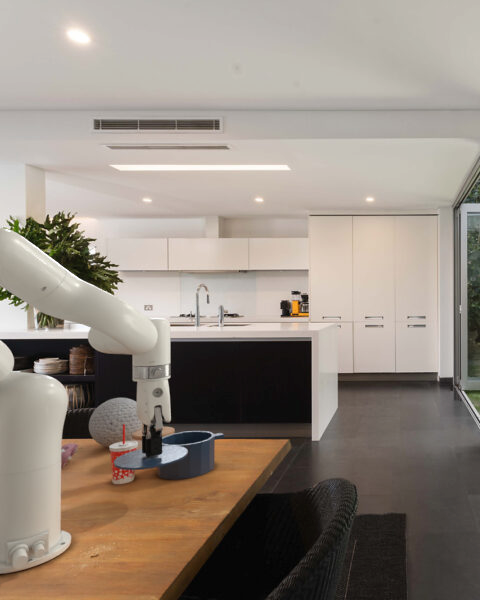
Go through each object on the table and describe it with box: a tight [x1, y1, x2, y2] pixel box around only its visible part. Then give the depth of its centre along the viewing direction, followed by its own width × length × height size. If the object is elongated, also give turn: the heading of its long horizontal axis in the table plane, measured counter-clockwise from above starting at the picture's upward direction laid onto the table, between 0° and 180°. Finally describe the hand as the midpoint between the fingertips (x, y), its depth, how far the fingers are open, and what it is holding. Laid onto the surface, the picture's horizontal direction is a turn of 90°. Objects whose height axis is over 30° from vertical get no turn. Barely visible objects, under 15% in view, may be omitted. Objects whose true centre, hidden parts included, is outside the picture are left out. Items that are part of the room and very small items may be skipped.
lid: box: [114, 434, 188, 471], centre depth 101 cm, size 15×15×6 cm
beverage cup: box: [108, 424, 138, 485], centre depth 112 cm, size 6×6×14 cm
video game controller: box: [61, 442, 79, 469], centre depth 122 cm, size 10×5×7 cm, turn 22°
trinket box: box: [132, 426, 176, 450], centre depth 128 cm, size 11×11×9 cm
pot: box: [156, 430, 225, 481], centre depth 119 cm, size 14×19×8 cm
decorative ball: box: [88, 397, 142, 448], centre depth 140 cm, size 15×15×15 cm
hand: (152, 453), depth 101 cm, fingers closed on lid, 2 cm apart
